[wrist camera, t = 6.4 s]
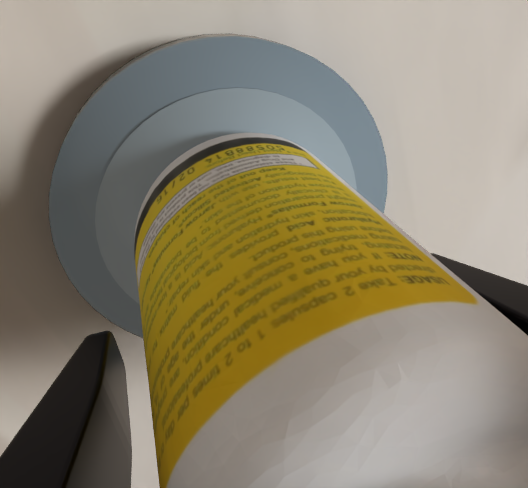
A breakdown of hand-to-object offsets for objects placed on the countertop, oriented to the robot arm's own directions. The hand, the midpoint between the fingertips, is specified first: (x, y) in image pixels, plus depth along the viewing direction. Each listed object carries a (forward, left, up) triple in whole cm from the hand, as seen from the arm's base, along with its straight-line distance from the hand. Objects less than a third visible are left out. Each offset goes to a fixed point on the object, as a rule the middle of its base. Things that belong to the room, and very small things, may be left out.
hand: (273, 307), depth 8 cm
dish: (0, 0, -4) cm, 5 cm away
